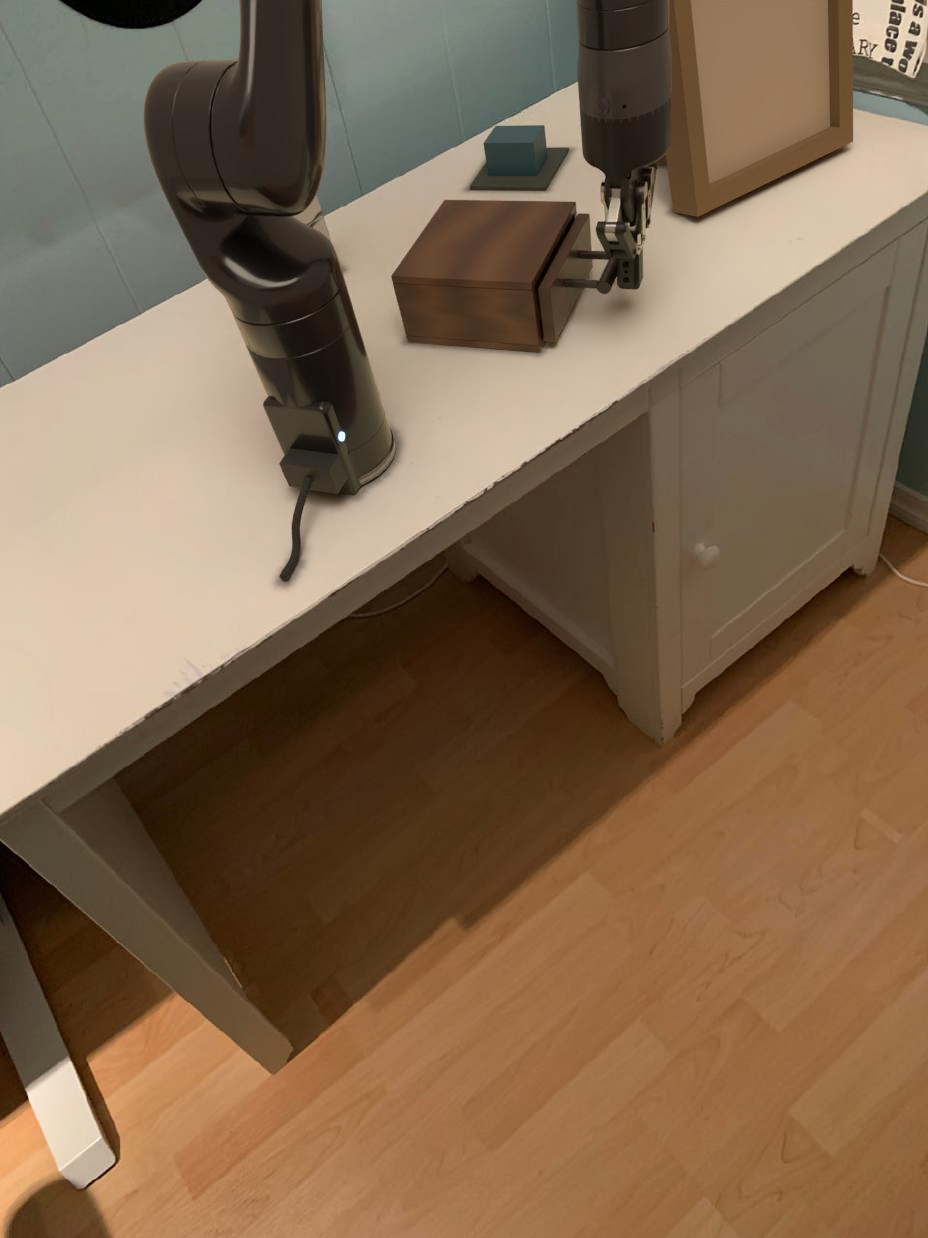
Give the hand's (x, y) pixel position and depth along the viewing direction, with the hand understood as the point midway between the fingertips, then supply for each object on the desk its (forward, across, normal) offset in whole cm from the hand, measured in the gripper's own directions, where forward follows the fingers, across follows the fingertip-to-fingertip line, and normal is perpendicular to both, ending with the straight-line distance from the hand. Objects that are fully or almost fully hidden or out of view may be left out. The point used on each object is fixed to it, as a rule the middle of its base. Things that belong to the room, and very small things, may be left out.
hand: (630, 284), depth 85 cm
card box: (+3, +29, +22) cm, 36 cm away
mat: (+3, +29, +22) cm, 36 cm away
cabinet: (+3, 0, +15) cm, 15 cm away
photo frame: (+4, +30, -4) cm, 31 cm away
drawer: (+2, 0, +10) cm, 10 cm away
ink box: (+3, +5, +41) cm, 41 cm away
